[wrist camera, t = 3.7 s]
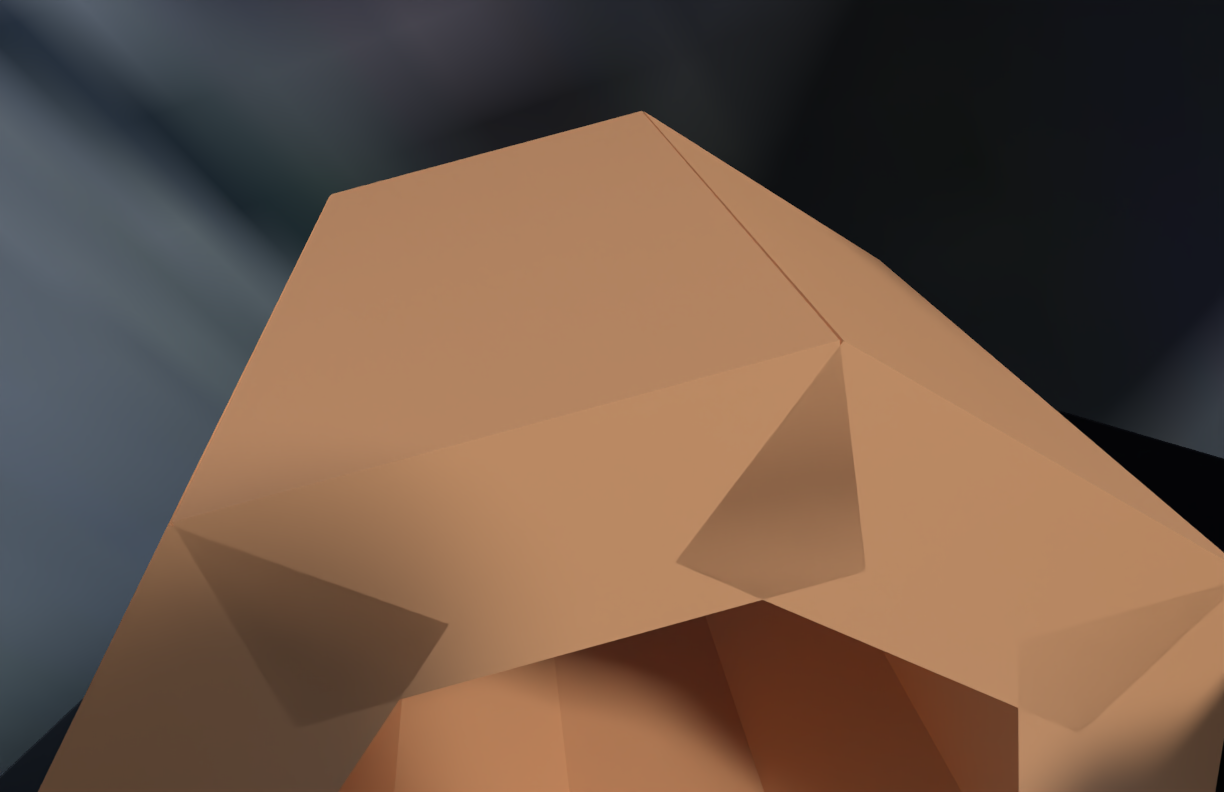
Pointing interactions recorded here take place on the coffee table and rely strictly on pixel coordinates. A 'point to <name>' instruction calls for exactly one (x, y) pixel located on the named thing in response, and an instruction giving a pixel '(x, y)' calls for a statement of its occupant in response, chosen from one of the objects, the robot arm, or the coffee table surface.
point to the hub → (644, 522)
